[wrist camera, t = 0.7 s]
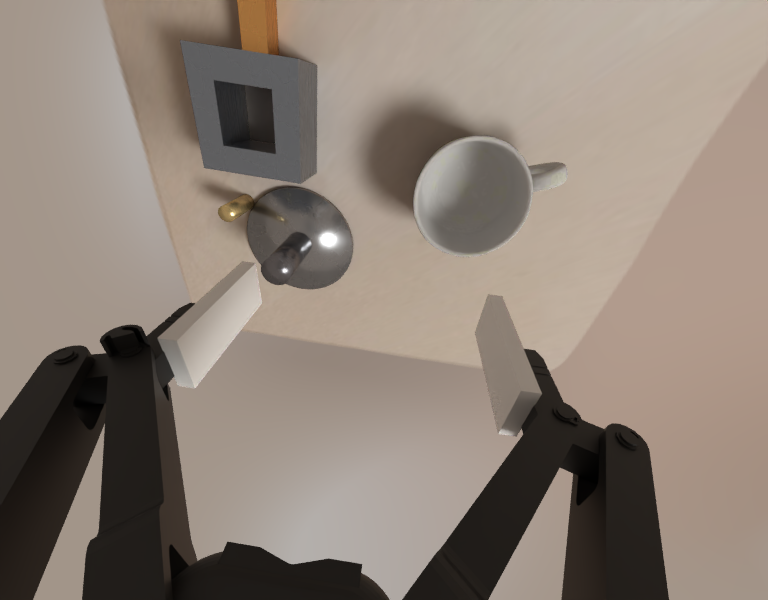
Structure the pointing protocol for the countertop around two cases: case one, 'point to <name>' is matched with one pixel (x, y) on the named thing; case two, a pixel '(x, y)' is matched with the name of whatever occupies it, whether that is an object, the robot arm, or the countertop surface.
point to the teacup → (478, 194)
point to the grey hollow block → (228, 101)
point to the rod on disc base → (299, 238)
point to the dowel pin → (236, 208)
